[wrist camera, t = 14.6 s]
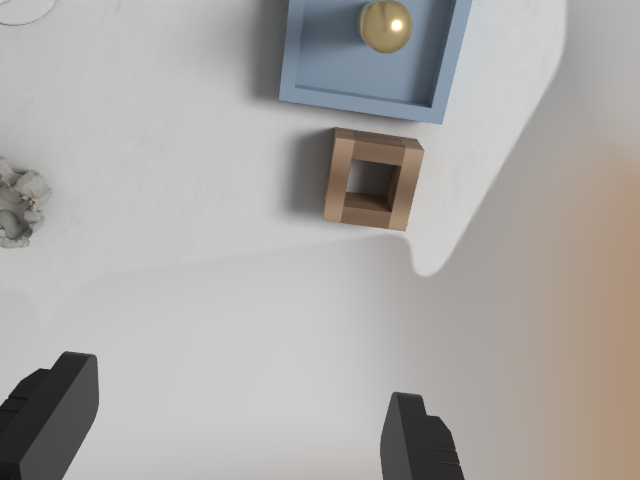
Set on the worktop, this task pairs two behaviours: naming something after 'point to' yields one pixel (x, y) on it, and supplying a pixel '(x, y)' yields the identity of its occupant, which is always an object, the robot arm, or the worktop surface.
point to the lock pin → (384, 25)
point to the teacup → (23, 11)
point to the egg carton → (20, 205)
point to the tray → (372, 59)
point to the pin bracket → (367, 207)
